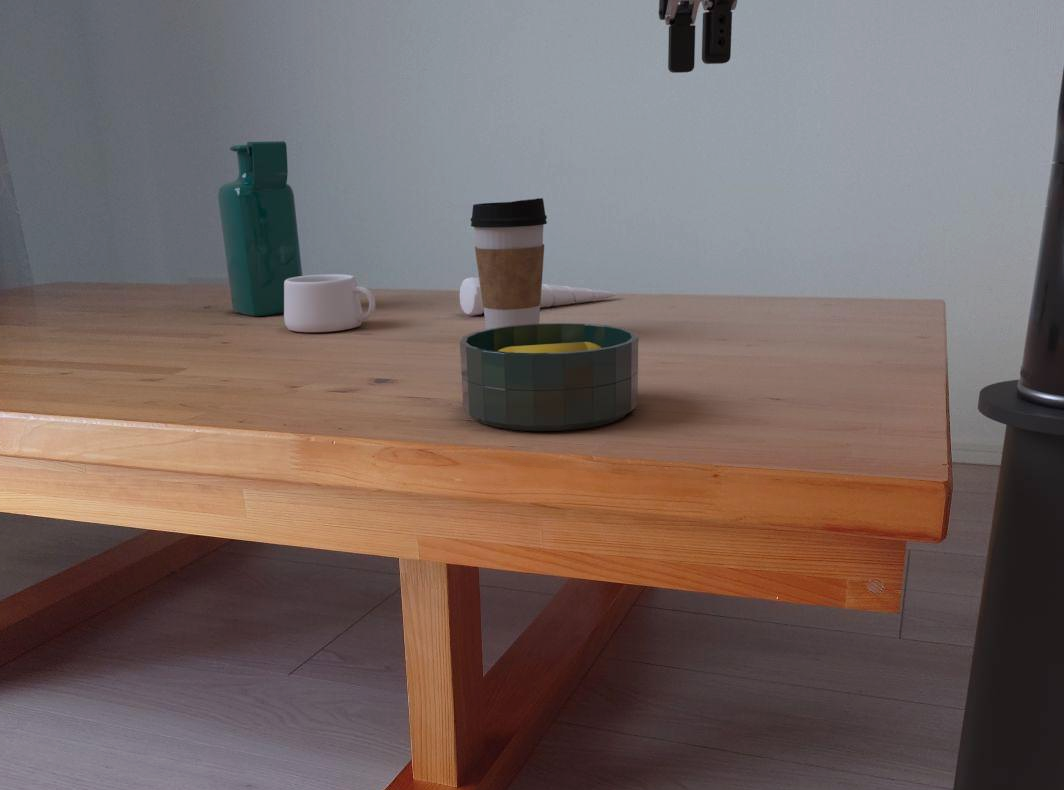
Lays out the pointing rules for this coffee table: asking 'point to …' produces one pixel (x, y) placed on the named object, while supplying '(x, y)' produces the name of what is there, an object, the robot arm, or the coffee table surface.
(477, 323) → the coffee table surface
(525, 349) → the capsule
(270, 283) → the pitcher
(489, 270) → the coffee cup
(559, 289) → the unicorn horn
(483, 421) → the teal round dish
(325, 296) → the mug
